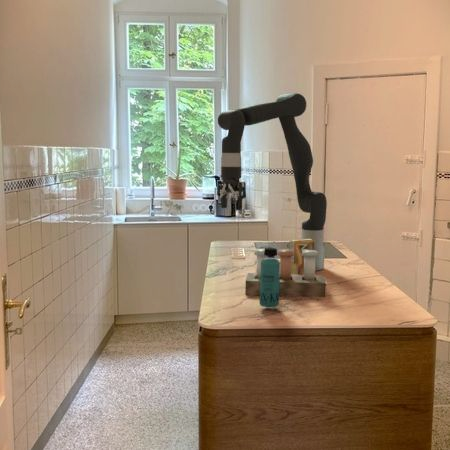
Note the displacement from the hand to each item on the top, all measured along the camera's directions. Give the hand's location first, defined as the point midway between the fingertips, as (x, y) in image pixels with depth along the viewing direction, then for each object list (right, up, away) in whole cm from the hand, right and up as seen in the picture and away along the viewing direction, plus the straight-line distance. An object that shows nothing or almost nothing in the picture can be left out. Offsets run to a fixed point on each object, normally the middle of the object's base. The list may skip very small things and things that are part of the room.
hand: (231, 208), depth 200 cm
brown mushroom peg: (+20, -26, -7) cm, 33 cm away
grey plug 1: (+11, -25, -6) cm, 28 cm away
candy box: (+28, -27, +15) cm, 42 cm away
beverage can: (+14, -27, +16) cm, 34 cm away
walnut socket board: (+20, -30, -6) cm, 36 cm away
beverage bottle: (+12, -33, -28) cm, 45 cm away
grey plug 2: (+28, -26, -8) cm, 39 cm away
